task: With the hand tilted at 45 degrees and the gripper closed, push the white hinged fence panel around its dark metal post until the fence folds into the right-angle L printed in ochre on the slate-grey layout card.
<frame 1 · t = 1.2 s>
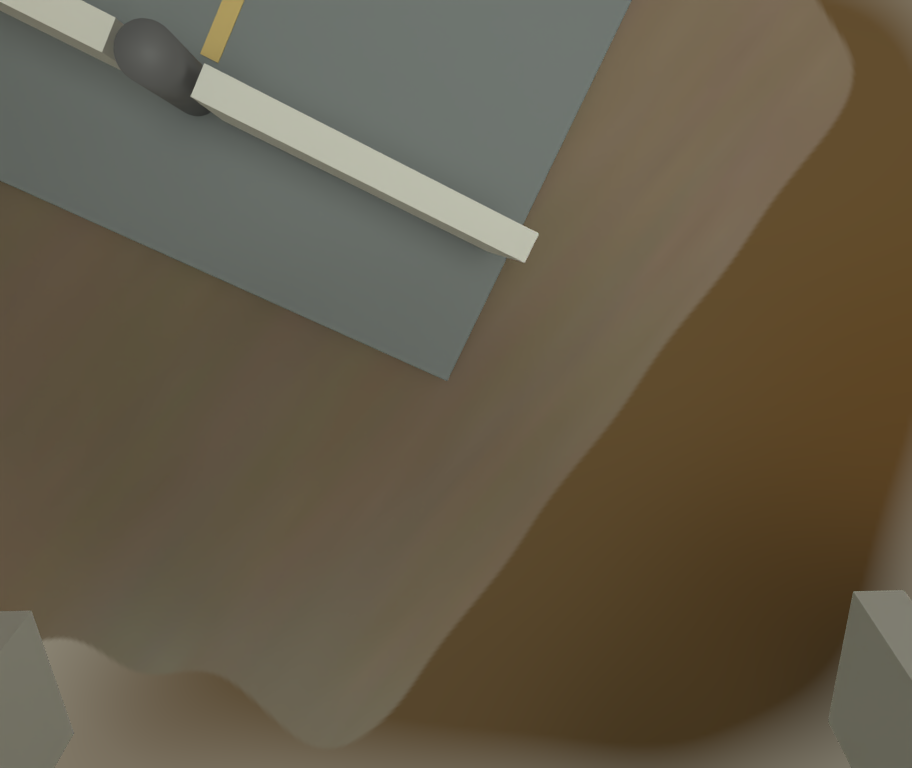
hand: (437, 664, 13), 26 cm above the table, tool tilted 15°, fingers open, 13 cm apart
layout card: (277, 28, 34), on the table
fence: (195, 91, 34), resting on layout card
hinged panel: (369, 172, 32), point 5 cm above the table, hinge at 0.0°
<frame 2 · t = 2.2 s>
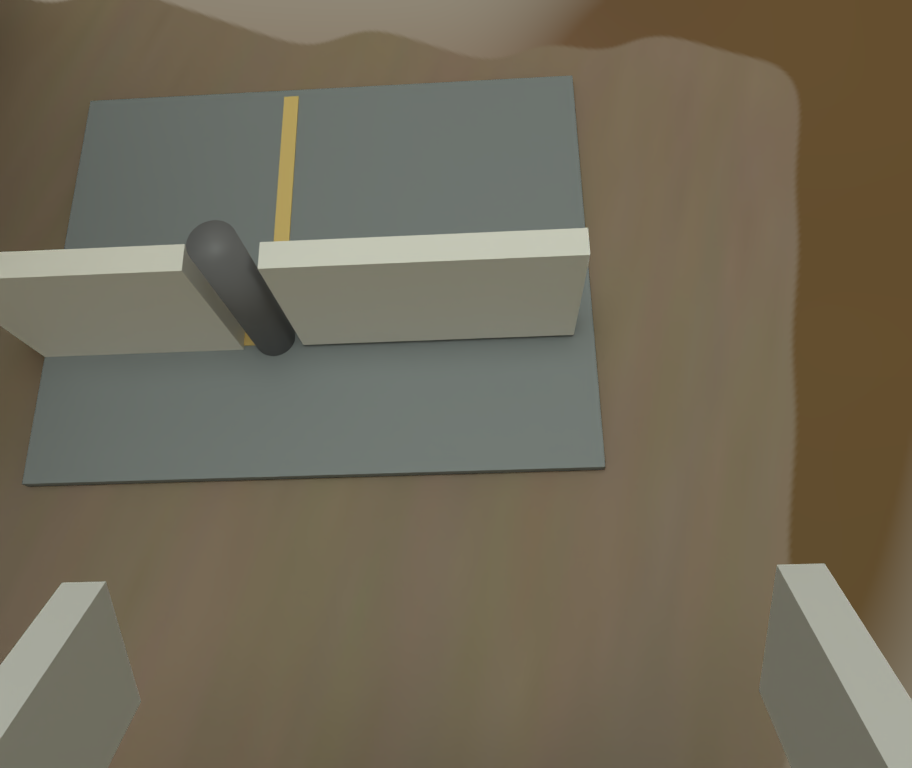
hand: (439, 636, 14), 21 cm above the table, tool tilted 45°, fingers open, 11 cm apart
layout card: (321, 268, 40), on the table
fence: (275, 337, 39), resting on layout card
hinged panel: (430, 292, 34), point 5 cm above the table, hinge at 0.0°
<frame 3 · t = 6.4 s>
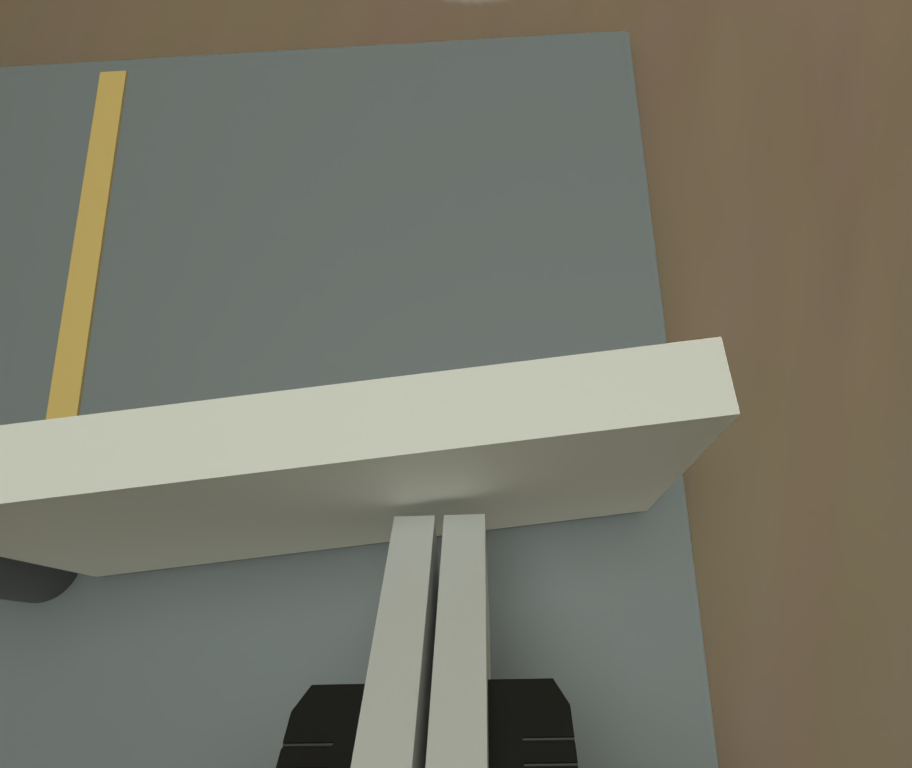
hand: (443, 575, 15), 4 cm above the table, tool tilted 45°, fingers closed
layout card: (149, 405, 21), on the table
fence: (42, 560, 19), resting on layout card
hinged panel: (337, 484, 15), point 5 cm above the table, hinge at 5.0°, touching gripper
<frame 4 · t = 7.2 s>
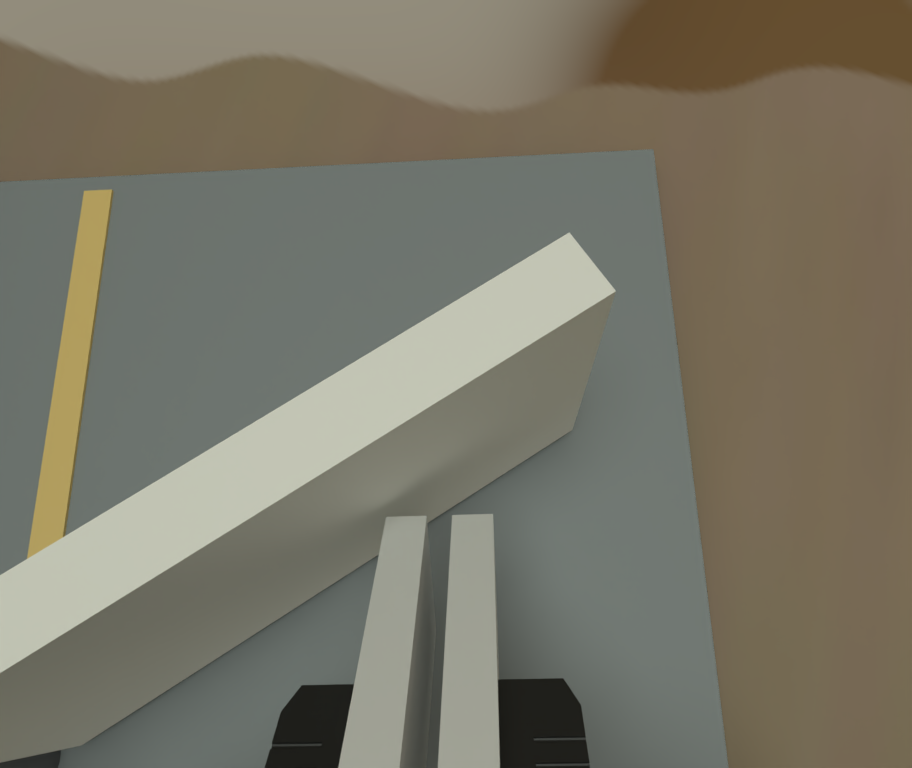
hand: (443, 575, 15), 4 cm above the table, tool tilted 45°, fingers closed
layout card: (135, 573, 19), on the table
fence: (16, 758, 17), resting on layout card
hinged panel: (283, 533, 15), point 5 cm above the table, hinge at 31.3°, touching gripper
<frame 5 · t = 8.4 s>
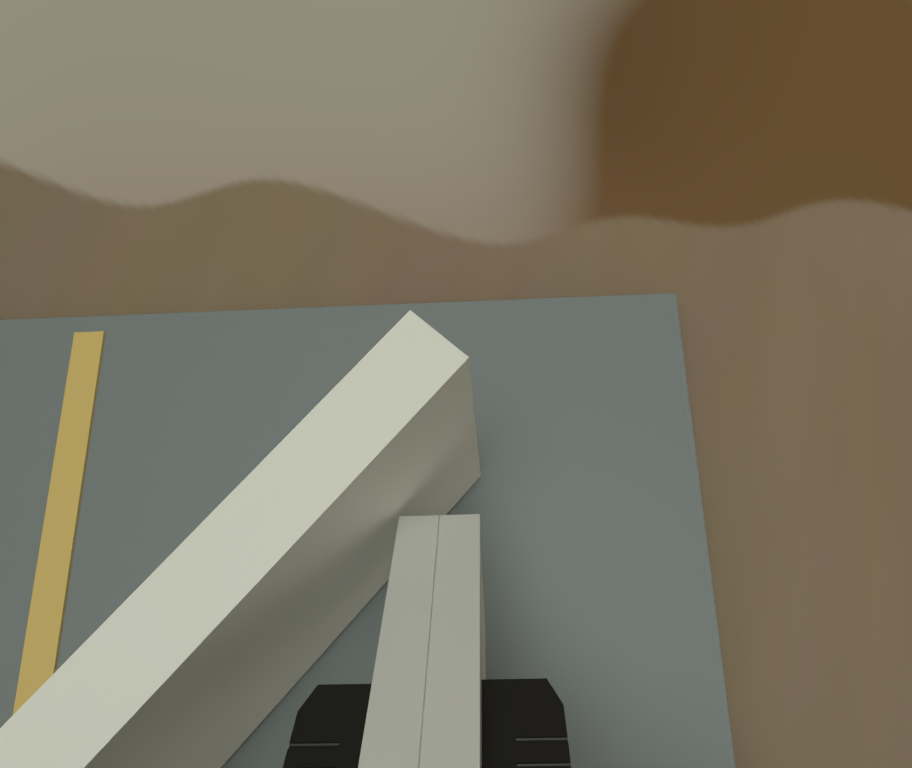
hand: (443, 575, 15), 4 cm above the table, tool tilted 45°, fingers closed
layout card: (122, 764, 18), on the table
hinged panel: (209, 674, 14), point 5 cm above the table, hinge at 47.2°, touching gripper
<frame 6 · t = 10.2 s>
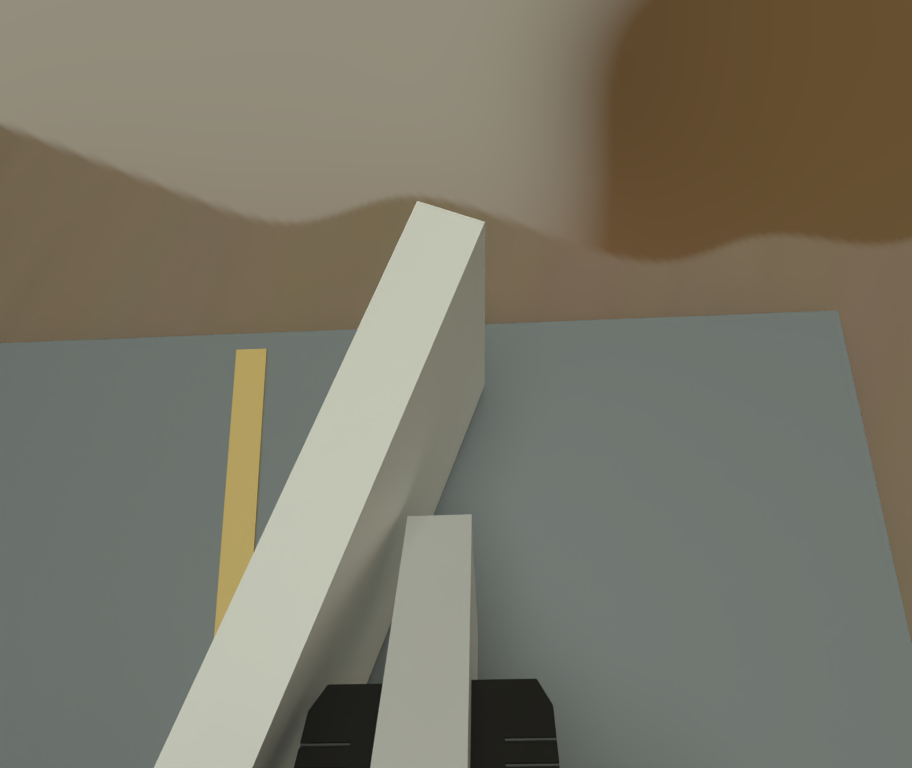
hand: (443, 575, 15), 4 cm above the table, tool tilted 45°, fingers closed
hinged panel: (331, 611, 15), point 5 cm above the table, hinge at 67.5°, touching gripper
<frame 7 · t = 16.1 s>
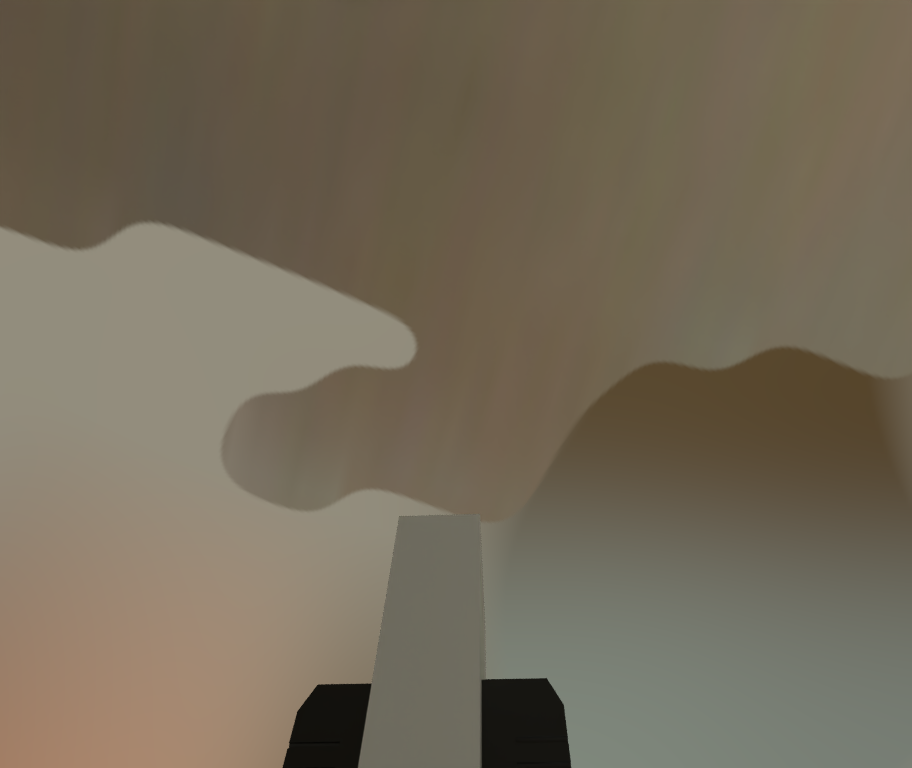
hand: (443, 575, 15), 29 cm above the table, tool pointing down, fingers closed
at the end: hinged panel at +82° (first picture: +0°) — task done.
